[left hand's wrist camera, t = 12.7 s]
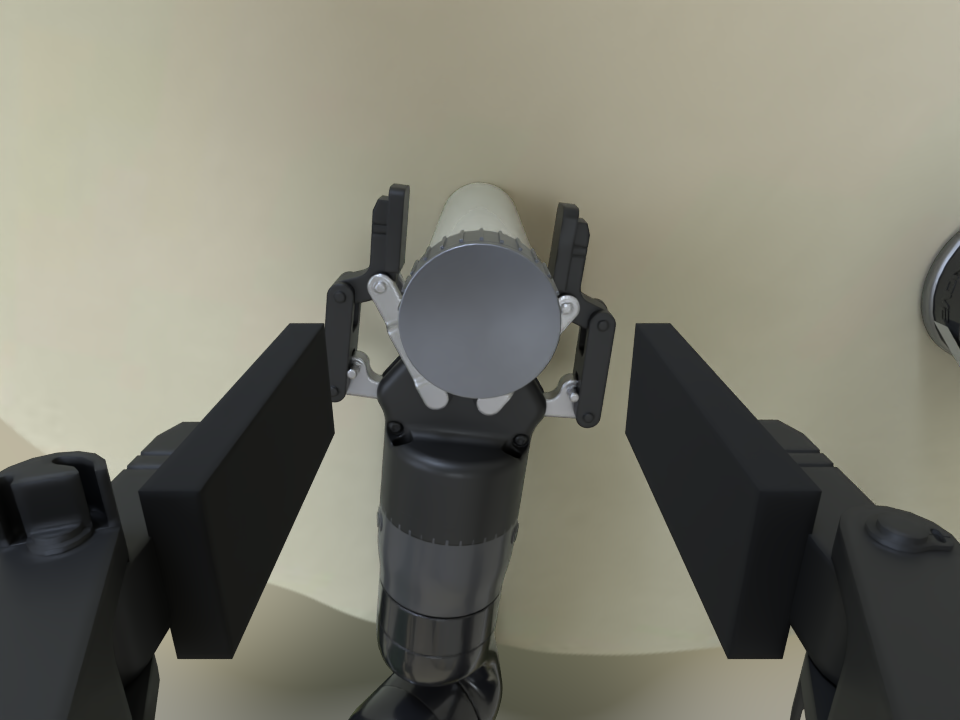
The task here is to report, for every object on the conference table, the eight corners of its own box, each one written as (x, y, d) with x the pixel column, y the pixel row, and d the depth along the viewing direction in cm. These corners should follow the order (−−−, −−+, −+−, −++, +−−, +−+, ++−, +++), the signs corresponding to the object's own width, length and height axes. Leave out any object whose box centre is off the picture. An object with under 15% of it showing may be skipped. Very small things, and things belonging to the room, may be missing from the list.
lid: (372, 308, 20) (361, 329, 18) (475, 193, 19) (475, 203, 17) (483, 401, 21) (484, 431, 19) (587, 299, 20) (599, 320, 18)
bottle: (425, 224, 35) (376, 324, 18) (477, 165, 34) (475, 215, 17) (482, 275, 36) (483, 413, 19) (534, 219, 35) (583, 316, 18)
